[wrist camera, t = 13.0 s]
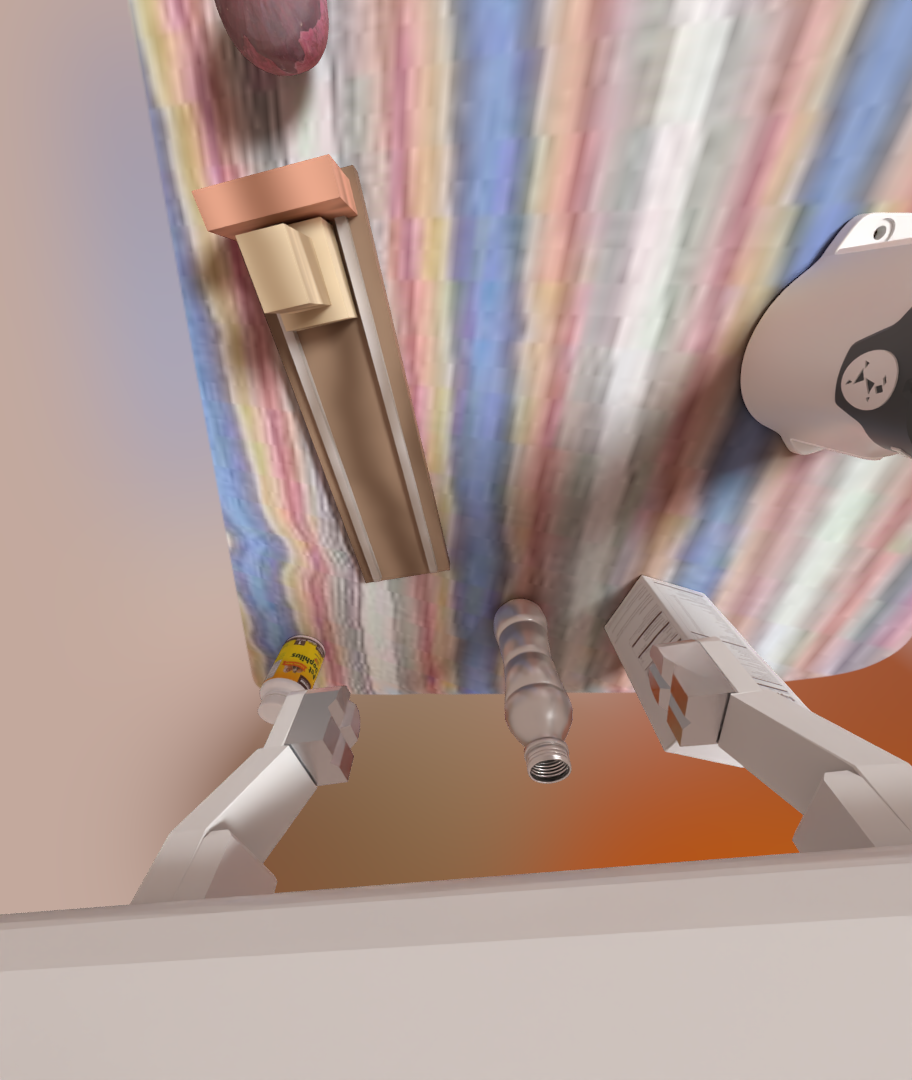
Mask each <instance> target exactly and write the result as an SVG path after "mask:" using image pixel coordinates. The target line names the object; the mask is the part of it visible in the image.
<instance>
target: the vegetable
mask: <svg viewBox="0 0 912 1080" xmlns="http://www.w3.org/2000/svg"><path fill="white" fill-rule="evenodd" d="M215 3H216V7H217V10H218V12H219V15H220V17H221V20H222V22H223V24H224V27H225V29H226V31H227V33H228V35H229V36H230V38H231V40H232V41H233V43H234V44H235V46H236V47H237V49H238V50H239V51H240V52H241V53H242V54H243V55H244V56H245V57H246V58H247V59H248V60H249V61H250V62H251V63H253V64H254V65H255V66H257V67H258V68H260V69H262V70H264V71H266V72H268V73H271V74H275V75H279V76H292V75H296V74H301V73H303V72H306V71H308V70H310V69H311V68H313V67H314V66H315V65H316V64H317V63H318V62H319V60H320V59H321V57H322V55H323V53H324V50H325V48H326V44H327V39H328V30H329V19H328V10H327V0H215Z"/></svg>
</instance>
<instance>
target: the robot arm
mask: <svg viewBox="0 0 912 1080" xmlns="http://www.w3.org/2000/svg"><path fill="white" fill-rule="evenodd" d="M876 229H877V235H876V236H875V238H874V237H873V235H874V232H875V230H876ZM741 392H742V396H743V400H744V403H745V405H746V407H747V409H748V411H749V412H750V414H751V415H752V416H753V417H754V418H755V419H756V420H757V421H758V422H759V423H761V424H762V425H764V426H766V427H768V428H770V429H772V430H774V431H775V432H777V433H778V434H780V436H781V438H782V440H783V441H784V443H785V445H786V446H787V448H788V449H789V450H790V451H791V452H793V453H796V454H800V455H808V454H812V453H815V452H818V451H821V450H824V449H827V450H831V451H835V452H839V453H843V454H847V455H850V456H854V457H858V458H862V459H867V460H880V459H882V458H883V457H886V456H891V455H895V454H900V455H902V456H904V457H907V458H910V459H912V213H867V214H861V215H858V216H856V217H854V218H852V219H851V220H850V221H849V222H848V223H847V224H846V225H845V226H844V227H843V228H842V229H841V231H840V232H839V233H838V234H837V236H836V237H835V238H834V240H833V241H832V242H831V244H830V245H829V247H828V248H827V249H826V251H825V252H824V254H823V255H822V257H821V258H820V259H819V260H818V261H817V262H816V263H815V264H814V265H813V266H811V267H810V268H809V269H808V270H807V271H806V272H804V273H803V274H802V275H801V276H799V277H798V278H797V279H796V280H795V281H793V282H792V283H791V284H790V285H789V286H788V287H787V288H786V289H785V290H784V291H783V292H782V293H781V294H780V295H779V296H778V297H777V298H776V300H775V301H774V302H773V303H772V304H771V306H770V307H769V308H768V310H767V311H766V312H765V314H764V315H763V317H762V318H761V320H760V321H759V323H758V325H757V326H756V328H755V330H754V332H753V334H752V336H751V338H750V341H749V343H748V346H747V348H746V351H745V355H744V358H743V363H742V368H741ZM650 657H651V658H652V660H653V662H654V663H653V664H652V665H651V666H650V667H649V682H650V687H651V690H652V693H653V695H654V698H655V700H656V702H657V704H658V705H659V706H660V707H662V708H663V709H665V710H666V711H668V714H667V723H668V725H669V727H670V729H671V731H672V732H673V734H674V736H675V738H676V740H677V742H678V744H679V746H680V747H685V746H698V745H711V744H718V746H719V747H720V748H721V749H722V750H724V751H725V752H726V753H727V754H728V755H730V756H731V757H732V758H733V759H735V760H736V761H737V762H738V763H740V764H741V765H742V766H743V767H745V768H746V769H747V770H748V771H750V772H751V773H752V774H753V775H755V776H756V777H757V778H758V779H760V780H761V781H762V782H763V783H764V784H766V785H767V786H768V787H770V788H771V789H772V790H773V791H774V792H776V793H777V794H778V795H779V796H780V797H782V798H783V799H784V800H785V801H787V802H788V803H789V804H791V805H792V806H793V807H794V808H795V809H797V810H798V811H799V812H800V813H802V814H803V818H802V819H801V822H800V824H799V826H798V827H797V830H796V832H795V834H794V837H793V842H794V844H795V845H796V847H797V848H798V850H799V852H800V853H792V854H779V855H766V856H753V857H740V858H727V859H715V860H703V861H702V860H701V861H688V862H675V863H663V864H649V865H636V866H623V867H610V868H598V869H584V870H572V871H558V872H545V873H532V874H519V875H506V876H494V877H480V878H467V879H454V880H441V881H429V882H415V883H402V884H389V885H376V886H363V887H350V888H338V889H325V890H313V891H300V892H286V893H274V891H275V887H276V884H277V880H276V878H275V876H274V875H273V874H272V873H271V872H270V871H269V870H268V869H267V868H266V867H265V866H264V865H263V862H264V861H265V860H266V858H267V857H268V855H269V854H270V853H271V851H272V850H273V849H274V847H275V846H276V844H277V843H278V842H279V840H280V839H281V837H282V836H283V835H284V833H285V832H286V830H287V829H288V828H289V826H290V825H291V824H292V822H293V821H294V819H295V818H296V817H297V815H298V814H299V812H300V811H301V810H302V808H303V807H304V805H305V804H306V803H307V801H308V800H309V798H310V797H311V796H312V794H313V793H314V792H315V790H316V789H317V787H316V786H320V785H328V784H335V783H342V782H348V779H349V775H350V771H351V766H352V762H353V758H354V755H353V753H352V751H351V747H352V746H353V745H354V744H355V742H357V740H358V737H359V732H360V715H359V710H358V708H357V706H356V704H354V703H353V702H351V701H349V697H350V692H349V690H348V688H347V686H336V687H326V688H316V689H308V690H299V691H292V692H291V693H290V694H289V695H288V696H287V697H286V699H285V701H284V704H283V706H282V708H281V710H280V712H279V715H278V717H277V719H276V721H275V723H274V726H273V728H272V730H271V732H270V734H269V737H268V739H267V741H266V743H265V745H264V748H261V749H257V750H256V751H255V752H254V753H253V754H252V755H251V756H250V757H249V758H248V759H247V760H246V761H245V762H244V763H243V764H242V765H241V766H240V767H238V768H237V769H236V770H235V771H234V772H233V773H232V774H231V775H230V776H229V777H228V778H227V779H226V780H225V781H224V782H223V783H222V784H221V785H220V786H219V787H218V788H216V789H215V790H214V791H213V792H212V793H211V794H210V795H209V796H208V797H207V798H206V799H205V800H204V801H203V802H202V803H201V804H200V805H199V806H198V807H197V808H196V809H195V810H193V811H192V812H191V814H189V815H188V816H187V817H186V818H185V819H184V820H183V821H182V822H181V823H180V824H179V825H178V826H177V827H176V828H175V829H174V830H173V831H171V833H170V834H169V836H168V837H167V839H166V841H165V843H164V845H163V846H162V848H161V850H160V852H159V853H158V855H157V857H156V859H155V861H154V862H153V864H152V866H151V868H150V869H149V872H148V873H147V875H146V877H145V878H144V880H143V882H142V884H141V885H140V887H139V889H138V891H137V893H136V894H135V896H134V898H133V900H132V902H131V903H130V905H118V906H105V907H94V908H80V909H67V910H54V911H41V912H28V913H16V914H1V915H0V1080H912V767H911V766H910V765H909V764H908V763H907V762H905V761H903V760H901V759H899V758H897V757H895V756H894V755H892V754H890V753H888V752H886V751H884V750H882V749H881V748H879V747H877V746H875V745H873V744H871V743H869V742H867V741H866V740H864V739H862V738H860V737H858V736H856V735H854V734H852V733H851V732H849V731H847V730H845V729H843V728H841V727H839V726H837V725H836V724H833V723H832V722H830V721H828V720H826V719H824V718H822V717H820V716H819V715H817V714H815V713H813V712H811V711H809V710H807V709H805V708H804V707H802V706H800V705H798V704H796V703H794V702H792V701H790V700H789V699H787V698H785V697H783V696H781V695H779V694H777V693H775V692H773V691H772V690H770V689H768V690H762V689H761V688H760V686H759V685H758V684H757V683H756V681H755V680H754V679H753V678H752V677H751V675H750V674H749V673H748V672H747V671H746V669H745V668H744V667H743V666H742V665H741V663H740V662H739V661H738V660H737V659H736V657H735V656H734V655H733V654H732V653H731V651H730V650H729V649H728V648H727V647H726V645H725V644H724V643H723V642H722V640H721V639H719V638H718V637H716V636H714V637H707V638H699V639H694V640H692V639H690V640H683V641H676V642H669V643H662V644H655V645H652V647H651V650H650Z"/></svg>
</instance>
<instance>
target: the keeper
mask: <svg viewBox="0 0 912 1080" xmlns="http://www.w3.org/2000/svg"><path fill="white" fill-rule="evenodd" d="M235 236H236V239H237V241H238V244H239V247H240V249H241V252H242V255H243V257H244V260H245V263H246V265H247V268H248V271H249V273H250V276H251V279H252V281H253V284H254V287H255V289H256V292H257V295H258V297H259V300H260V302H261V305H262V308H263V310H264V313H275V314H280V316H281V318H282V321H283V324H284V327H285V330H286V332H287V331H299V330H304V329H309V328H313V327H317V326H322V325H326V324H331V323H335V322H340V321H344V320H349V319H353V318H358V316H357V313H356V309H355V306H354V302H353V298H352V295H351V291H350V287H349V284H348V280H347V276H346V273H345V269H344V265H343V262H342V258H341V255H340V251H339V247H338V244H337V240H336V236H335V233H334V229H333V226H332V225H331V224H329V223H328V222H327V221H325V220H324V219H323V218H321V217H317V218H313V219H309V220H305V221H301V222H297V223H293V224H289V225H286V224H284V223H282V224H279V225H275V226H271V227H267V228H263V229H259V230H255V231H251V232H247V233H243V234H239V235H235Z"/></svg>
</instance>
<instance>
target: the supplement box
mask: <svg viewBox="0 0 912 1080" xmlns="http://www.w3.org/2000/svg"><path fill="white" fill-rule="evenodd" d="M604 628H605V630H606V633H607V635H608V637H609V639H610V641H611V643H612V645H613V647H614V649H615V651H616V653H617V655H618V657H619V659H620V661H621V663H622V665H623V667H624V669H625V671H626V673H627V675H628V677H629V679H630V681H631V683H632V685H633V688H634V690H635V692H636V694H637V696H638V698H639V700H640V701H641V704H642V706H643V708H644V710H645V712H646V714H647V716H648V718H649V720H650V722H651V724H652V726H653V728H654V730H655V732H656V735H657V737H658V738H659V741H660V743H661V745H662V747H663V749H664V751H666V752H671V753H675V754H680V755H685V756H690V757H695V758H699V759H704V760H709V761H713V762H718V763H723V764H728V765H733V766H737V767H742V768H743V766H742V765H741V764H740V763H738V762H737V761H736V760H735V759H733V758H732V757H731V756H730V755H728V754H727V753H726V752H725V751H724V750H722V749H721V748H720V747H719V746H718V744H711V745H698V746H685V747H680V746H679V744H678V742H677V740H676V738H675V736H674V734H673V732H672V731H671V729H670V727H669V725H668V723H667V714H668V711H666V710H665V709H663V708H662V707H660V706H659V705H658V704H657V702H656V700H655V698H654V695H653V693H652V690H651V687H650V682H649V667H650V666H651V665H652V664H653V663H654V662H653V660H652V658H651V657H650V650H651V647H652V645H655V644H662V643H669V642H676V641H683V640H690V639H692V640H694V639H699V638H707V637H714V636H716V637H718V638H719V639H721V640H722V642H723V643H724V644H725V645H726V647H727V648H728V649H729V650H730V651H731V653H732V654H733V655H734V656H735V657H736V659H737V660H738V661H739V662H740V663H741V665H742V666H743V667H744V668H745V669H746V671H747V672H748V673H749V674H750V675H751V677H752V678H753V679H754V680H755V681H756V683H757V684H758V685H759V686H760V688H761V689H762V690H768V689H770V690H772V691H773V692H775V693H777V694H779V695H781V696H783V697H785V698H787V699H789V700H790V701H792V702H794V703H796V704H798V705H800V706H802V707H804V708H805V709H807V710H809V709H808V708H807V707H806V706H805V705H804V704H803V703H802V701H801V700H800V699H799V698H798V697H797V696H796V695H795V694H794V693H793V691H792V690H791V689H790V688H789V687H788V686H787V685H786V684H785V683H784V682H783V680H782V679H781V678H780V677H779V676H778V675H777V674H776V673H775V672H774V671H773V669H772V668H771V667H770V666H769V665H768V664H767V663H766V662H765V661H764V660H763V659H762V658H761V657H760V656H759V654H758V653H757V652H756V651H755V650H754V649H753V648H752V647H751V646H750V645H749V643H748V642H747V641H746V640H745V639H744V637H743V636H742V635H741V634H740V633H739V632H738V631H737V630H736V628H735V627H734V626H733V625H732V624H731V623H730V622H729V621H728V620H727V619H726V617H725V616H724V615H723V614H722V613H721V612H720V611H719V610H718V609H717V608H716V606H715V605H714V604H713V603H712V602H711V601H710V600H709V599H708V598H707V596H706V595H705V594H703V593H700V592H697V591H694V590H691V589H687V588H684V587H680V586H677V585H674V584H670V583H667V582H664V581H660V580H657V579H654V578H650V577H647V576H643V575H642V576H640V578H639V579H638V581H637V582H636V583H635V585H634V586H633V588H632V589H631V590H630V592H629V593H628V595H627V596H626V597H625V599H624V600H623V602H622V603H621V604H620V606H619V607H618V609H617V610H616V611H615V613H614V614H613V616H612V617H611V618H610V620H609V621H608V623H607V624H606V625H605V627H604ZM809 711H810V710H809Z"/></svg>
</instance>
